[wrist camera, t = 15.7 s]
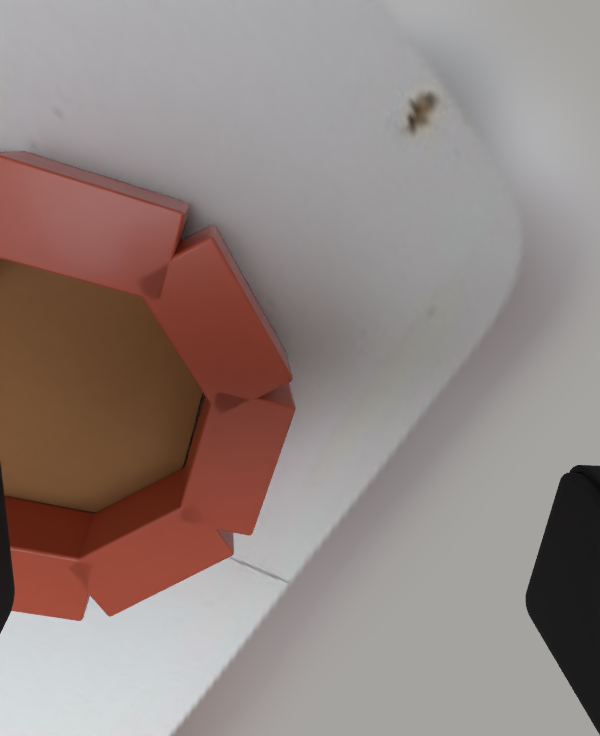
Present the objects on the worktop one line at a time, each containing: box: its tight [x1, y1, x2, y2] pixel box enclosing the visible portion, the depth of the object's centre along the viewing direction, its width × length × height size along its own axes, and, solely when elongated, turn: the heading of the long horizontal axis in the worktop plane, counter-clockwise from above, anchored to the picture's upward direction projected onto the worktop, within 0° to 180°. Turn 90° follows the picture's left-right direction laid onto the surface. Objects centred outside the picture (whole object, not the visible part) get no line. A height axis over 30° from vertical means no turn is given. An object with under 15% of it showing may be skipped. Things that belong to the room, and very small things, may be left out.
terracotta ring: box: [0, 151, 295, 621], centre depth 14 cm, size 11×11×2 cm
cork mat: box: [0, 259, 203, 513], centre depth 15 cm, size 7×7×1 cm
